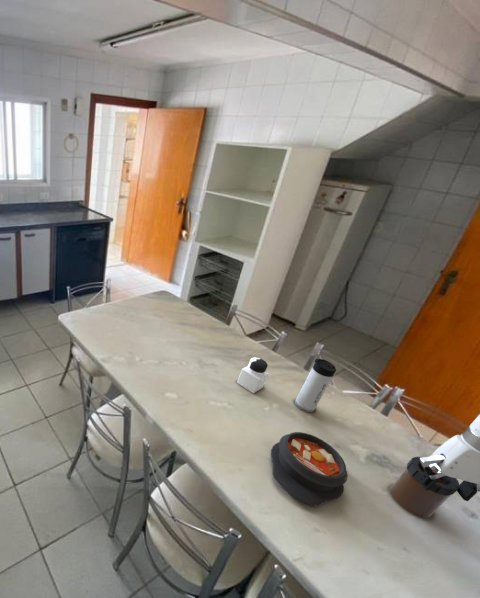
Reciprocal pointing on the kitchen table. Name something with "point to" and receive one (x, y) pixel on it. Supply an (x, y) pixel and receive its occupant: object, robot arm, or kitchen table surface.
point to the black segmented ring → (439, 488)
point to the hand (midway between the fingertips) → (441, 489)
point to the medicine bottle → (254, 375)
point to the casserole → (308, 468)
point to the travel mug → (315, 385)
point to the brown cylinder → (416, 495)
